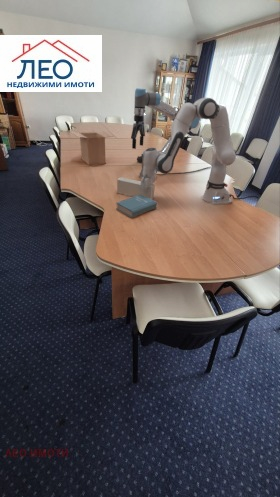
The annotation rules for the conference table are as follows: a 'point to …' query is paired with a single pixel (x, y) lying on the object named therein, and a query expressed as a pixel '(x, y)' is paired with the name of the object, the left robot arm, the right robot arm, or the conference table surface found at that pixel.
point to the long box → (133, 188)
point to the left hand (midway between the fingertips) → (137, 146)
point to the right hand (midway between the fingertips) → (147, 191)
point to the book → (136, 205)
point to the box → (92, 146)
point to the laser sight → (139, 158)
